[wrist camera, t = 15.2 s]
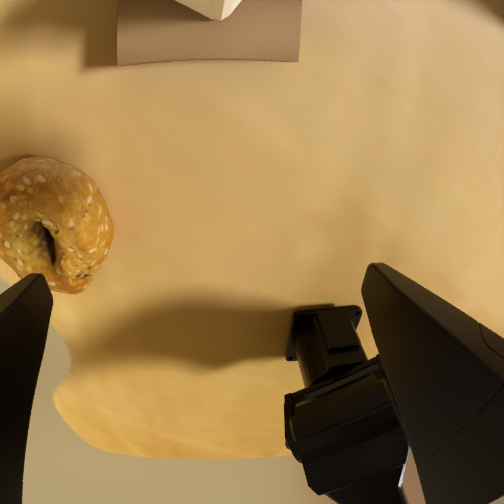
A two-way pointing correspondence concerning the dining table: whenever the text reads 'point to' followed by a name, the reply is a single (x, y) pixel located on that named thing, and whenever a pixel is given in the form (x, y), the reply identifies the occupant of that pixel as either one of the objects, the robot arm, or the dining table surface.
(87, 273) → the bagel
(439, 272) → the dining table surface
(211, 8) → the pepper shaker
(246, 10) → the walnut block
